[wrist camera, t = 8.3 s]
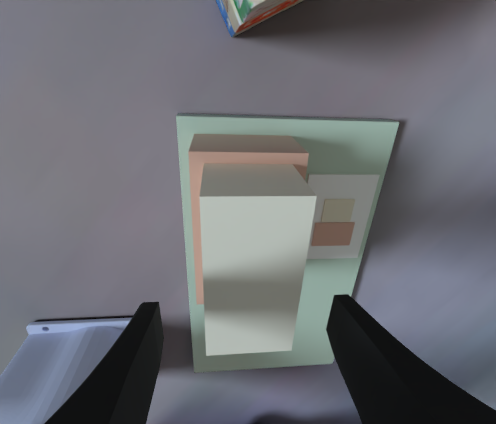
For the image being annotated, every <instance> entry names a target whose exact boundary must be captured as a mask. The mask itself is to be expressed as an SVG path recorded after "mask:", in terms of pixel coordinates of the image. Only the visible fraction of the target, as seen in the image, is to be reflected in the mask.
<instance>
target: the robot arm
mask: <svg viewBox="0 0 496 424" xmlns="http://www.w3.org/2000/svg"><path fill="white" fill-rule="evenodd" d="M27 331H28V333H29V335H28V337H27V338H26V340H25V341H24V343H23V344H22V346H21V347H20V348H19V350H18V351H17V353H16V354H15V356H14V357H13V358H12V360H11V361H10V363H9V364H8V366H7V367H6V369H5V370H4V371H3V373H2V374H1V376H0V424H146V421H147V416H148V412H149V408H150V404H151V400H152V396H153V392H154V388H155V384H156V379H157V375H158V371H159V367H160V361H161V354H162V347H163V339H164V337H163V329H162V322H161V315H160V307H159V302H144V303H142V304H141V305H140V306H139V308H138V309H137V311H136V313H135V314H134V316H133V317H132V318H112V319H90V320H67V321H45V322H31V323H29V325H28V326H27ZM326 331H327V335H328V338H329V342H330V345H331V348H332V351H333V354H334V357H335V359H336V362H337V364H338V366H339V369H340V371H341V374H342V376H343V378H344V380H345V383H346V385H347V387H348V390H349V392H350V394H351V397H352V399H353V401H354V404H355V406H356V408H357V411H358V413H359V416H360V419H361V421H362V424H496V410H494V409H492V408H491V407H489V406H487V405H486V404H484V403H483V402H481V401H479V400H478V399H476V398H475V397H473V396H472V395H470V394H469V393H467V392H466V391H464V390H463V389H461V388H460V387H458V386H457V385H455V384H454V383H452V382H451V381H449V380H448V379H447V378H445V377H444V376H442V375H441V374H440V373H438V372H437V371H436V370H434V369H433V368H432V367H430V366H429V365H428V364H426V363H425V362H424V361H422V360H421V359H420V358H419V357H417V356H416V355H415V354H414V353H412V352H411V351H410V350H409V349H408V348H406V347H405V346H404V345H403V344H402V343H400V342H399V341H398V340H397V339H396V338H395V337H393V336H392V335H391V334H390V333H389V332H388V331H387V330H386V329H385V328H383V327H382V326H381V325H380V324H379V323H378V322H377V321H376V320H375V319H374V318H373V317H372V316H371V315H369V314H368V313H367V312H366V311H365V310H364V309H363V308H362V307H361V306H360V305H359V304H358V303H357V302H356V301H355V300H354V299H353V298H352V297H350V296H349V295H348V294H341V295H334V297H333V302H332V306H331V310H330V314H329V318H328V322H327V327H326Z"/></svg>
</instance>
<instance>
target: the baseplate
mask: <svg viewBox="0 0 496 424" xmlns="http://www.w3.org/2000/svg"><path fill="white" fill-rule="evenodd" d="M176 122H177V136H178V150H179V164H180V179H181V193H182V207H183V221H184V235H185V250H186V264H187V278H188V292H189V307H190V321H191V335H192V349H193V364H194V373H200V372H215V371H230V370H245V369H260V368H275V367H290V366H305V365H320V364H333V360H334V354H333V351H332V348H331V345H330V342H329V338H328V335H327V331H326V327H327V322H328V318H329V314H330V310H331V306H332V302H333V297H334V295H341V294H348V295H349V296H350V297H351V295H352V292H353V288H354V284H355V281H356V277H357V274H358V270H359V266H360V263H361V259H362V256H363V252H364V248H365V245H366V241H367V237H368V234H369V230H370V227H371V223H372V219H373V216H374V212H375V209H376V205H377V201H378V198H379V194H380V191H381V187H382V183H383V180H384V176H385V173H386V169H387V165H388V162H389V158H390V155H391V151H392V147H393V144H394V140H395V137H396V133H397V129H398V126H399V122H397V121H394V120H388V119H353V118H319V117H285V116H250V115H216V114H182V113H178V114H177V115H176ZM204 163H220V164H293V165H294V167H295V168H296V169H297V171H298V172H299V173H300V175H301V176H302V177H303V179H304V180H305V181H306V182H307V184H308V185H309V186H310V188H311V189H312V190H313V192H314V193H315V194H316V196H317V198H316V204H315V210H314V217H313V223H312V229H311V235H310V241H309V247H308V253H307V259H306V265H305V271H304V277H303V283H302V289H301V295H300V301H299V307H298V314H297V320H296V326H295V332H294V338H293V344H292V350H291V351H275V352H259V353H243V354H227V355H210V356H206V341H205V318H204V294H203V270H202V247H201V223H200V199H199V196H200V188H201V180H202V173H203V165H204Z"/></svg>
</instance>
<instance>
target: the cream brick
mask: <svg viewBox="0 0 496 424" xmlns="http://www.w3.org/2000/svg"><path fill="white" fill-rule="evenodd" d="M316 198H317V196H316V194H315V193H314V192H313V190H312V189H311V188H310V186H309V185H308V184H307V182H306V181H305V180H304V179H303V177H302V176H301V175H300V173H299V172H298V171H297V169H296V168H295V167H294V165H293V164H220V163H204V165H203V173H202V180H201V188H200V196H199V199H200V223H201V247H202V270H203V294H204V318H205V341H206V356H210V355H227V354H243V353H259V352H275V351H291V350H292V344H293V338H294V332H295V326H296V320H297V314H298V307H299V301H300V295H301V289H302V283H303V277H304V271H305V265H306V259H307V253H308V247H309V241H310V235H311V229H312V223H313V217H314V210H315V204H316Z"/></svg>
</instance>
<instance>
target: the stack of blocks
mask: <svg viewBox="0 0 496 424" xmlns="http://www.w3.org/2000/svg"><path fill="white" fill-rule="evenodd" d="M302 1H304V0H216V2H217V4H218V7H219V9H220V12H221V14H222V17H223V19H224V21H225V24H226V26H227V29H228V31H229V33H230V35H231V37H235V36H236V35H238V34H240V33H242V32H244V31H246V30H248V29H250V28H251V27H253V26H255V25H257V24H259V23H261V22H263V21H265V20H267V19H268V18H270V17H272V16H274V15H276V14H278V13H280V12H282V11H284V10H287V9H289V8H290V7H292V6H294V5H296V4H298V3H300V2H302Z"/></svg>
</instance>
